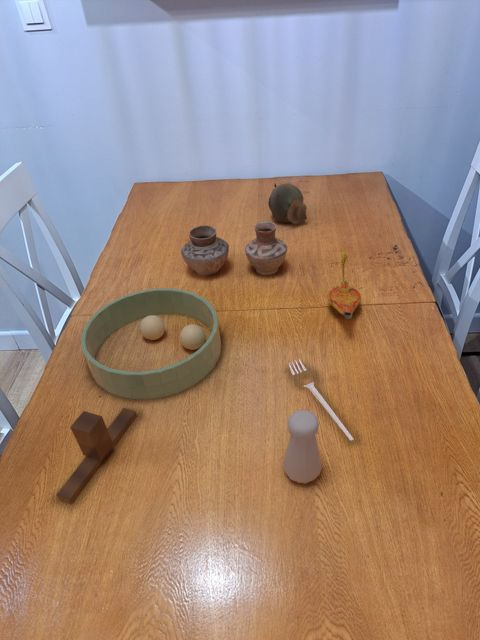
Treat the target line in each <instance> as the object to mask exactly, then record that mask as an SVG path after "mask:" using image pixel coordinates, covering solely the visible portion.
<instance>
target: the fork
mask: <svg viewBox="0 0 480 640" xmlns="http://www.w3.org/2000/svg"><path fill="white" fill-rule="evenodd" d="M298 361H299V363H298V362H297V360H296V359H295V360H294V361H291V363H290V362H288V364H287V365H288V367H289V370H290V374H291V375H292V376H295V375H296V374H297V375H298V374H299V372H300V373H303V371H304V372H306V371H307V368H306V367H305V365H304V363H303V362H302V360H301V359H300V358H298ZM294 362H295V363H294ZM291 365H292V366H291ZM300 366H301V367H300ZM303 387H304V388H307V389H308V390H309V391H310V392H311V394H313V396H314V397H315V398H316V399H317V401H318V402H319V403H320V405H321V406H322V407H323V408H324V410H325V411H326V412H327V413H328V415H329V416H330V417H331V418H332V419H333V421H334V422H335V424H337V426H338V427H339V429H341V431H342V432H343V433H344V435H345V436H346V437H347V438H348V440H349V441H354V440H355V438H354V437H353V436H352V434H351V433H350V432H349V431H348V429H347V428H346V427H345V425H344V424H343V422H342V421H341V420H340V418H339V417H338V416H337V414H335V412H334V410H333V409H332V408H331V407H330V405H329V404H328V402H326V399H324V397H323V396H322V394H321V393H320V392H319V391H318V389H317V388H316V387H315V381H312V382H310V383H307V384H305V385H303Z"/></svg>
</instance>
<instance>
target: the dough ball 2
mask: <svg viewBox="0 0 480 640" xmlns="http://www.w3.org/2000/svg"><path fill="white" fill-rule="evenodd" d="M179 341H180V343H181V345H182V346H183V347H184V348H185V349H187V350H191V351H195V350H199V349H200V348H201V347H202V346H203V345H204V343H205V342H206V332H205V330H204V329H203V328H202V327H201V326H199V325H198V324H195V323H192V324H187V325H185V326H184V327H183V328H182V329H181V330H180V333H179Z"/></svg>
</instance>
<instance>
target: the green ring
mask: <svg viewBox="0 0 480 640" xmlns="http://www.w3.org/2000/svg"><path fill="white" fill-rule="evenodd" d="M149 315H155V316H158V315H159V316H160V315H179V316H185V317H188V318H192V319H195V320H197V321H199V322H201V323H203V324H204V325H205V326H207V328H208V329H210V330H211V332H210V335H209V337H208V338H207V340H205V342H204V344H203V345H202V346H201V347H200V348H198V349H196V351H194V352H193V353H192V354H190V355H189V356H188V357H186V358H184V359H181V360H180V361H177V362H176V363H173V364H170V365H168V366H164V367H161V368H157V369H150V370H144V371H134V370H133V371H132V370H131V371H128V370H127V371H126V370H122V369H115V368H112V367H109V366H107V365H104V364H102V363H101V362H99V361H98V360H96V356H97V353H98V351H99V349H100V347H101V346H102V344H103V343H104V342H105V340H106V339H107V338H108V337H109V336H111V335H112V334H113V333H114V332H115V331H117V330H118V329H120V328H122V327H124V326H126V325H128V324H130V323H132V322H134V321H136V320H140V319H144V318H145V317H147V316H149ZM80 345H81V350H82V353H83V355H84V358H85V361H86V363H87V366H88V368H89V371H90V373H91V376H92V378H93V380H95V381H94V382H95V383H96V384H97V386H99V387H101V388H102V389H103V390H105V391H106V392H107V393H110V394H112V395H114V396H116V397H120V398H124V399H130V400H154V399H155V400H156V399H162V398H165V397H169V396H172V395H175V394H176V395H177V394H178V393H182V392H183V391H186V390H187V389H189V388H191V387H193V386H195V385H197V384H198V383H199V382H200V381H202V380H203V379H204V378H206V377H207V376H208V375H209V374H210V372H211V371H212V370H213V369H214V368H215V366H216V364H217V363H218V361H219V359H220V357H221V351H222V340H221V333H220V327H219V320H218V313H217V311H216V310H215V308H214V306H213V304H212V303H210V302H209V301H208V300H207V299H206V298H205V297H203V296H201V295H199V294H196V293H195V292H192V291H189V290H186V289H180V288H171V287H167V288H166V287H164V288H162V287H160V288H158V287H156V288H150V289H143V290H139V291H135V292H131V293H127V294H126V295H122V296H120V297H118V298H116V299H114V300H112V301H110V302H109V303H107V304H105V305H104V306H102V307H100V309H98V310H97V311H96V312H95V313H94V314H93V315H92V316H91V317H90V319H89V320H88V321H87V322H86V323H85V326H84V328H83V330H82V331H81V338H80Z"/></svg>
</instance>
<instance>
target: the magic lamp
mask: <svg viewBox="0 0 480 640" xmlns="http://www.w3.org/2000/svg"><path fill="white" fill-rule="evenodd" d="M341 258H342V259H341V260H340V262H341V263H340V266H341V268H340V269H341V278H342V281H341V282H340V284H341V285H339V286H337V287H333V288H332V289H331V290H330V291H329V292H328V295H327V301H328V303H329V304H330V306H332V307H333V309H335V310H336V311H337V312H338V314H341V315H342V316H343V317H344V318H345V319H352V318H353V314H354V312H355V311H356V309H357V307H358V306H359V305H360V303H361V301H362V295H361V293H360V292H359V290H357V289H356V288H354V287H351V286H350V285H349V284H350V282H348V280H346V279H345V265H346V261H347V260H348V258H349V254H348V253H347V252H346V251H343V252H342V254H341Z"/></svg>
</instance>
